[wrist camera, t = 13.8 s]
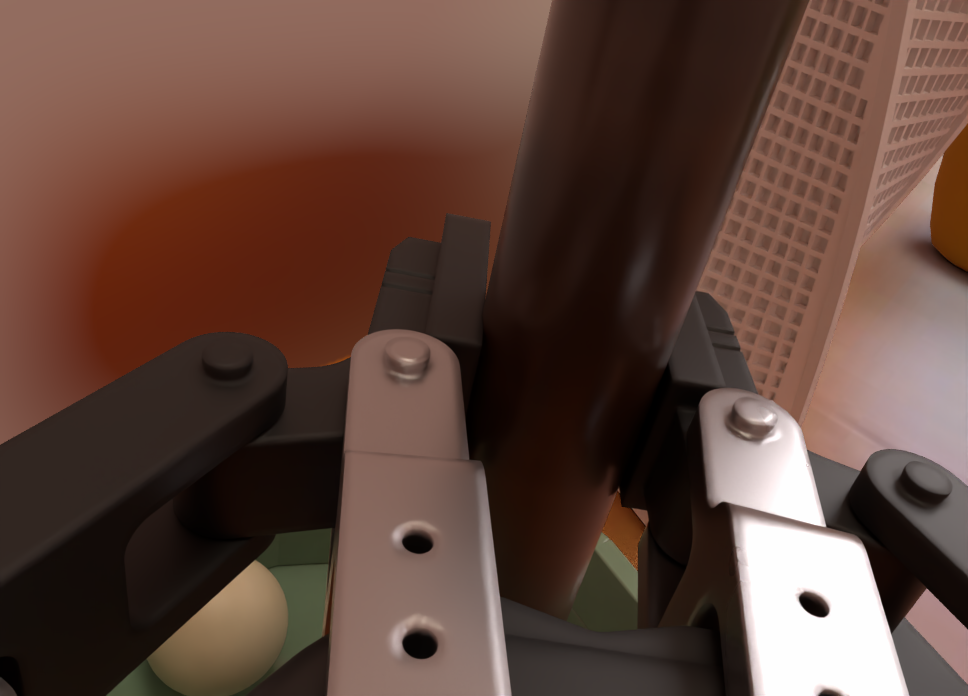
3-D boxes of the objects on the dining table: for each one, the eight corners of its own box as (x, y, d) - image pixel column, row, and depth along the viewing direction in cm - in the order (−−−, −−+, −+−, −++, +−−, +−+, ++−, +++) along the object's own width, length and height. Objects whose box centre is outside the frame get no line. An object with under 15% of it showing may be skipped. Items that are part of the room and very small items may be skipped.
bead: (113, 686, 19) (103, 598, 17) (205, 588, 22) (204, 503, 20) (230, 753, 18) (232, 668, 16) (310, 643, 21) (319, 560, 19)
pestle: (281, 851, 16) (402, -322, 6) (389, 674, 19) (582, -253, 9) (486, 973, 15) (1060, -185, 5) (562, 763, 18) (987, -165, 8)
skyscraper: (522, 413, 31) (853, -761, 15) (675, 383, 34) (1076, -593, 18) (646, 576, 25) (1370, -984, 10) (812, 521, 29) (1544, -686, 13)
